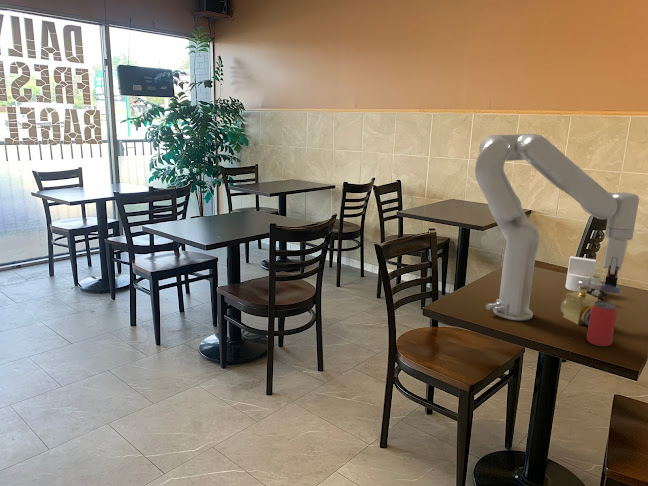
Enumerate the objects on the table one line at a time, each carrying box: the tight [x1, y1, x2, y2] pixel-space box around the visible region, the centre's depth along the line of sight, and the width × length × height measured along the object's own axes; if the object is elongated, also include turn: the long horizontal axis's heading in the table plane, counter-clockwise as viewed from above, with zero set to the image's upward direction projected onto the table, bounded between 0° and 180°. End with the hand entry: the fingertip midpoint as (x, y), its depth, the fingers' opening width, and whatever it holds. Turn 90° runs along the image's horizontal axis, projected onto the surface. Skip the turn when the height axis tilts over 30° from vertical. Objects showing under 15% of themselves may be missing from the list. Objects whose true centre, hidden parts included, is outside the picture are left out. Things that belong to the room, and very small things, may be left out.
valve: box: [586, 275, 608, 302], centre depth 187 cm, size 7×7×12 cm
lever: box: [577, 280, 621, 295], centre depth 161 cm, size 12×4×2 cm, turn 60°
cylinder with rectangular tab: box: [565, 255, 597, 293], centre depth 195 cm, size 9×9×12 cm
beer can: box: [586, 300, 617, 347], centre depth 148 cm, size 7×7×12 cm
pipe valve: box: [560, 287, 599, 326], centre depth 165 cm, size 12×6×11 cm, turn 18°
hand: (610, 288), depth 162 cm, fingers closed
